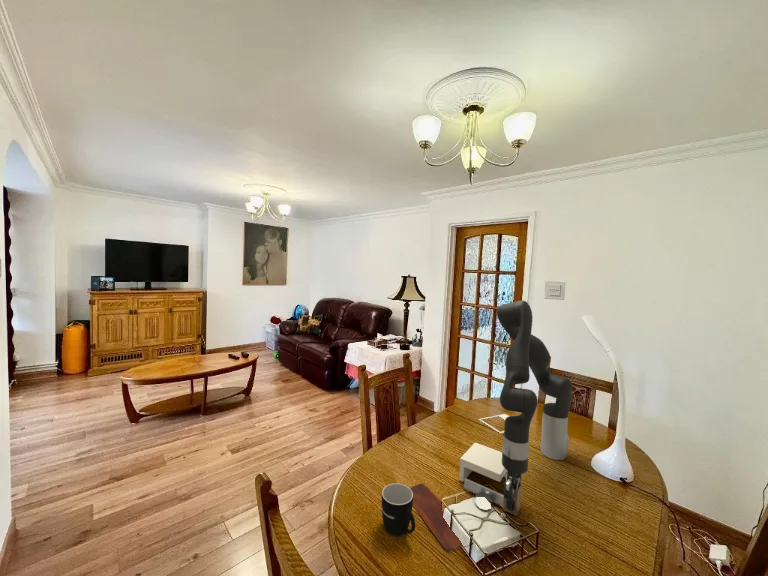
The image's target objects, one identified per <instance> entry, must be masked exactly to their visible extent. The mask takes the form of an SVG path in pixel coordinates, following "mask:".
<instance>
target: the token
mask: <svg viewBox="0 0 768 576" xmlns="http://www.w3.org/2000/svg"><path fill="white" fill-rule="evenodd" d="M475 497H485V498H486V499H487V500H488V501H489V502H490V503H491V504H492V505H493V501H492V498H491V497H490V496H489V495H488V494H486V493H481V492H480V493H477V494H476V493H475Z"/></svg>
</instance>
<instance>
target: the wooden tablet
mask: <svg viewBox="0 0 768 576" xmlns="http://www.w3.org/2000/svg"><path fill="white" fill-rule="evenodd" d="M409 488H410V489H411V491H412V493H413V505H412V508H414V510H416V512H417V513H418V514H419V516H420V517H421V519H422V520H423V522H424V523H425V524H426V525H427V527H428V528H429V530H430V531H431V533H432V534H433V535H434V538H435V539H436V540H437V542H438V543H439V544H440V545H441V547H442V548H443V549H444V550H445V551H446V552H447V553H451V552H453V551H455V550H456V549H457V548H458V547H463V545H462V543H461V541H460V540H459V538H458V537H457V536H456V535H455V533H454V532H453V531H452V530H451V529H450V527H449V525H448V524H447V522H446V521H445V519H444V518H443V511H442V510H441V502H442V500H441V499H440V498H439V497H438V496H437V495H436V494H435V493H434V492H433V491H432V490H431V489H430V488H429V487H428V486H426V485H425V484H424V483H418V484H416V485H413V486H411V487H409ZM463 548H464V547H463Z"/></svg>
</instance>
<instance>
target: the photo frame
mask: <svg viewBox="0 0 768 576" xmlns="http://www.w3.org/2000/svg"><path fill="white" fill-rule="evenodd" d="M498 416H499V417H498ZM509 416H510V415H508V414H506V413H502V414H497V415H493V416H488V417H487V416H486V417H481V418H478V421H479V420H480V421H479V422H481V423H483V424H484V423H485V424H484V425H486V426H487V425H488V426H487V427H489V428H490V427H491V429H492V430H494V431H495V432H497V433H498V432H499V433H498V434H501V435H502V434H504V430H502V431H500V430H498V429H497V428H495V427H494V426H492V425H491V424H488V423H487V422H485V421H484V420H483V419H485V420H489V419H488V418H490V419H493V417H495V418H500V417H501V418H502V419H501V418H500V419H501V420H503V419H504V420H503V421H505V419H506V418H507V417H509Z"/></svg>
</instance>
